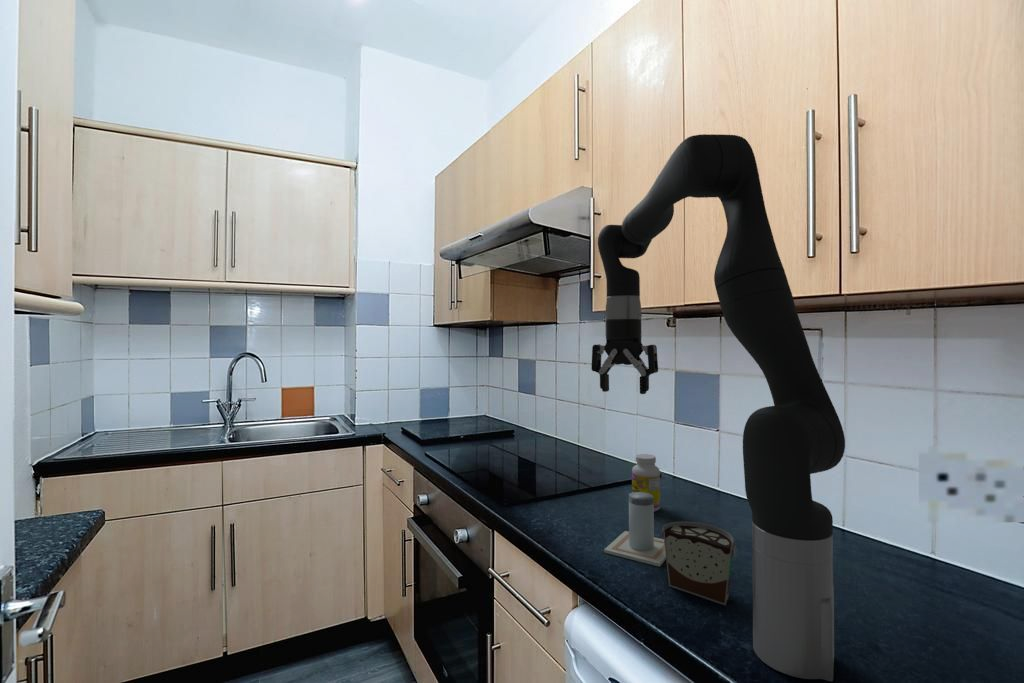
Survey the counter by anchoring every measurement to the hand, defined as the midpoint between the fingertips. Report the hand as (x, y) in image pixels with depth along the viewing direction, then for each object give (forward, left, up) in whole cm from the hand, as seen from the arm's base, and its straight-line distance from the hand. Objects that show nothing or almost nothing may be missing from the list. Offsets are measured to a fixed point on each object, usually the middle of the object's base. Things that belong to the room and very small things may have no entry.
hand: (624, 392), depth 107 cm
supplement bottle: (+1, -16, -30) cm, 34 cm away
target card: (-6, +7, -30) cm, 31 cm away
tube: (-6, +7, -30) cm, 31 cm away
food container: (-20, +16, -30) cm, 40 cm away
